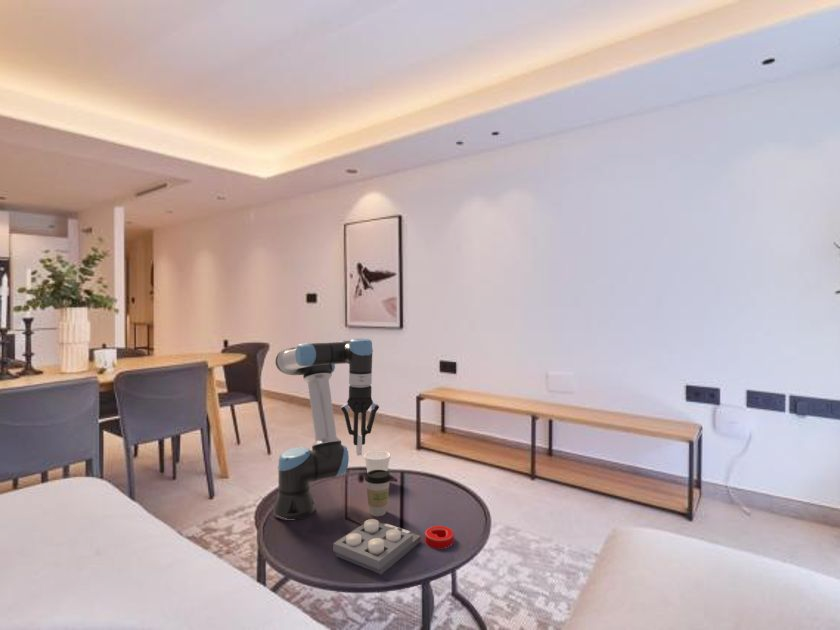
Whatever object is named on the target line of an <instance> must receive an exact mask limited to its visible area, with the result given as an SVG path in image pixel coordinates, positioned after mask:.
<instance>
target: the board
mask: <svg viewBox="0 0 840 630" xmlns="http://www.w3.org/2000/svg"><path fill="white" fill-rule="evenodd" d="M378 522H379V531H378V532H377V533H375V534H374V535H371V534H368V533H366V532H364V523H363V524H362V525H360V526H358V527H357V528H355V529H353V530H352V531H350V532H349V533H346V535H343V537H341V538H340V539H338V540H336V541H335V542H333V543H332V545H333V547H332V549H333V552H334V553H335V557H336V558H337V557H338V558H340V559H342V560H345V561H347V562H350V563H351V564H355V565H356V566H360V567H361V568H364V569H367V570H370V571H372V572H374V573H376V574H379V575H382V574H384V573H385V572H386V571H387V570H388V569H390V568H391V567H392V566H393V565H394V564H396V563H397V562H398V561H400V559H401V558H403V557H404V556H405V555H406V554H408V553H409V552H410V551H412V550H413V549H414V548H415V547H416V546H417V545H419V544H420V543H421V541H422V537H421V536H422V535H419V534H416V533H413V532H411V531H410V530H407V529H404V528H402V527H399V526H398V527H397V526H395V525H392V524H389V523H384V522H383V523H382V522H380V521H378ZM391 529H396V530H399V531H400V532H401V539H400V540H399V541H397V542H396V543H394V542H391V541H388V540H386V532H387V531H388V530H391ZM352 533H357V534H360V535H361V544H359V545H358V546H356V547H352V546H350V545H347V544H346V536H347V535H349V534H352ZM374 538H380V539H383V540H384V552H383V553H382V554H380V555H379V556H376V555H373V554H370V553H368V542H369V541H370V540H371V539H374Z"/></svg>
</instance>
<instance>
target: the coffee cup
mask: <svg viewBox="0 0 840 630" xmlns="http://www.w3.org/2000/svg"><path fill="white" fill-rule="evenodd" d="M364 479H365V482H366V494H367V503H368V510H369V511H368V512H369V514H370V515H371V516H373V517H382V516H384V515H386V514H387V505H388V502H389V493H390V482H391V479H392V477H391V475H390V472H389V471H388V470H387V471H385V470H372V471H369V472H367V473H366V476H365V478H364Z"/></svg>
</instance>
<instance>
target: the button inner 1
mask: <svg viewBox="0 0 840 630" xmlns="http://www.w3.org/2000/svg"><path fill="white" fill-rule="evenodd" d="M348 534H349V533H348ZM346 535H347V534H346ZM346 535H345V536H346ZM346 544H347V545H350V546H352V547H356V546H358V545H359V544H361V535H360V534H357V533H352V534H349V535H347V536H346Z"/></svg>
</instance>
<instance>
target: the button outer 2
mask: <svg viewBox="0 0 840 630" xmlns="http://www.w3.org/2000/svg"><path fill="white" fill-rule="evenodd" d="M400 539H401V532H400V531H399V530H396V529H391V530H388V531H387V532H386V540H388V541H391V542H394V543H396V542H397V541H399V540H400Z"/></svg>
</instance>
